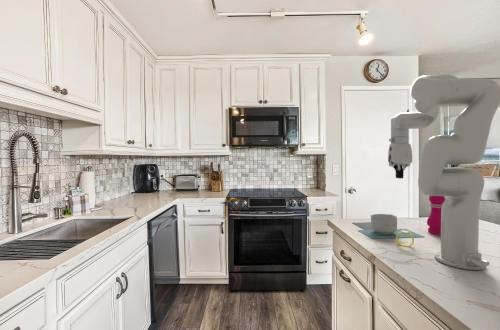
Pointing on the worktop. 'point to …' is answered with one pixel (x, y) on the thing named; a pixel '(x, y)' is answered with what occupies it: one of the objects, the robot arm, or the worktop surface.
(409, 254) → the worktop surface
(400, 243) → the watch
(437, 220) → the pepper mill
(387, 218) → the teacup
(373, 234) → the t mat
